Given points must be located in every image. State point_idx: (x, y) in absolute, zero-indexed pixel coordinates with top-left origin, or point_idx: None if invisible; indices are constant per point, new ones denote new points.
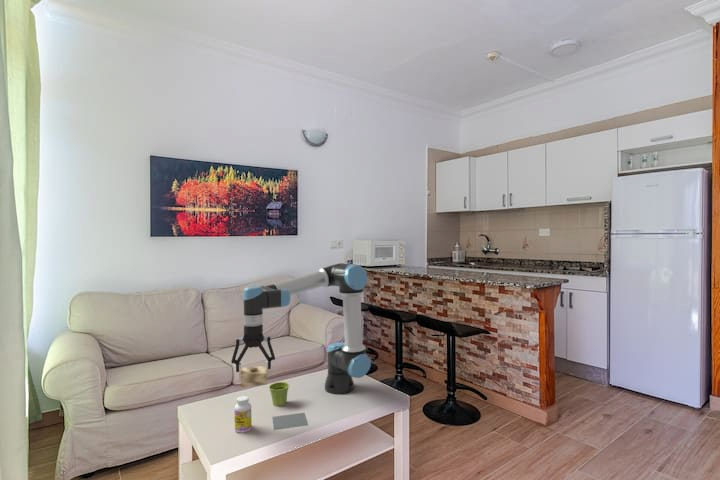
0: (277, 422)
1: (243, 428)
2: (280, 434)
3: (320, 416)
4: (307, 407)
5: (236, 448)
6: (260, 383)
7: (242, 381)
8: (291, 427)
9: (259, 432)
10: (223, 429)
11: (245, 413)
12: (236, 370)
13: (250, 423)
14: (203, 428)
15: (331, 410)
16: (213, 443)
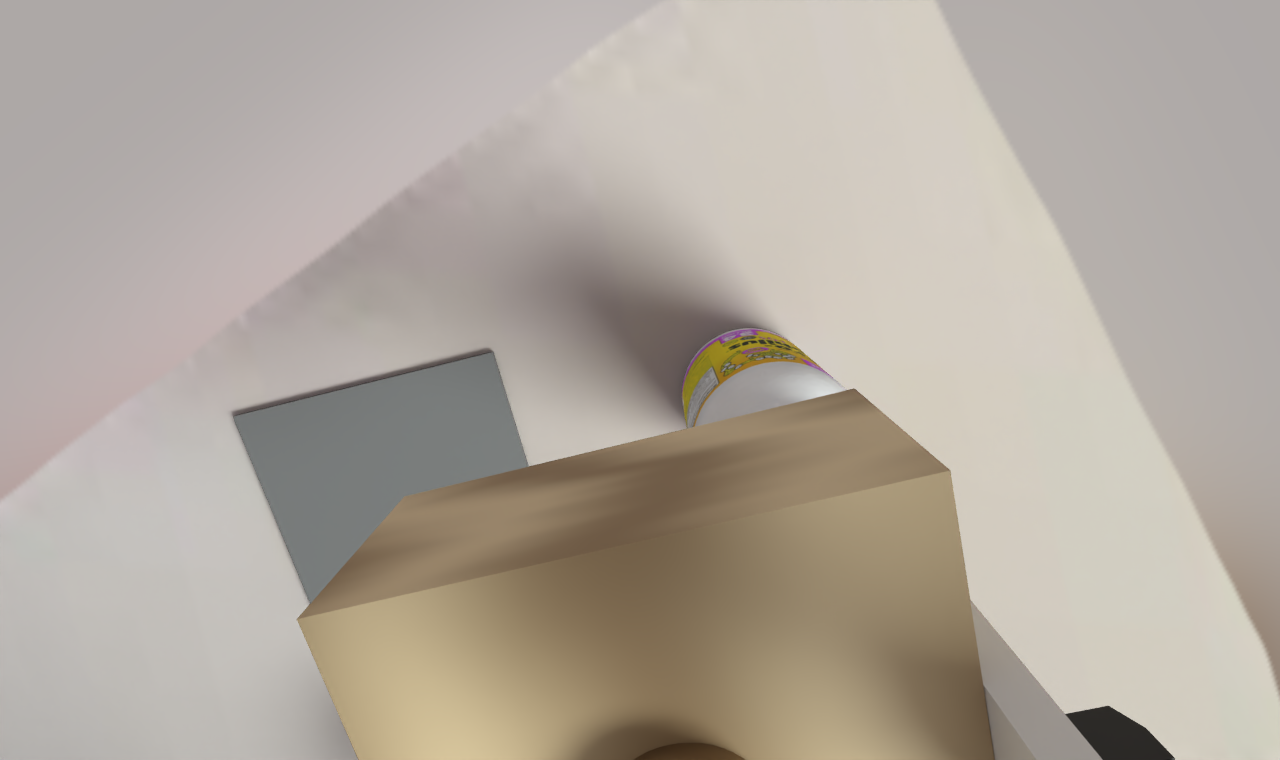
0: (492, 471)
1: (732, 334)
2: (425, 289)
3: (178, 555)
4: (318, 700)
5: (726, 84)
6: (503, 482)
7: (858, 428)
8: (359, 385)
9: (602, 331)
10: (902, 395)
11: (731, 369)
12: (1145, 743)
13: (686, 386)
14: (1066, 420)
15: (115, 643)
16: (932, 176)
